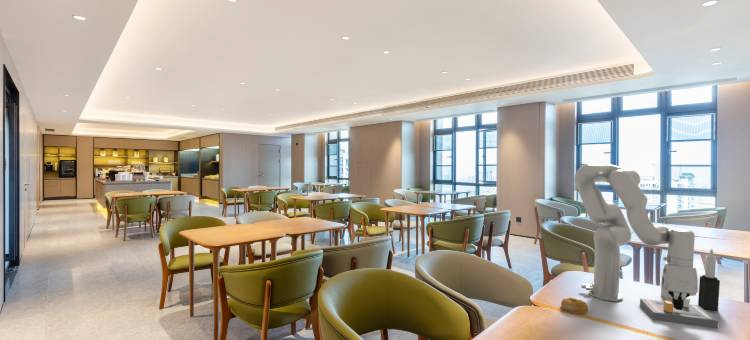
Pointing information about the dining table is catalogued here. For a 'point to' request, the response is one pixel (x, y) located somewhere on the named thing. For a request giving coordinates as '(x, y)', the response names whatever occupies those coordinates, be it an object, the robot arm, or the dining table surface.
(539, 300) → the dining table surface
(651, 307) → the breaker panel
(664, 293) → the grey piece
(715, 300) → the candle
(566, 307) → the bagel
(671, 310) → the breaker handle
